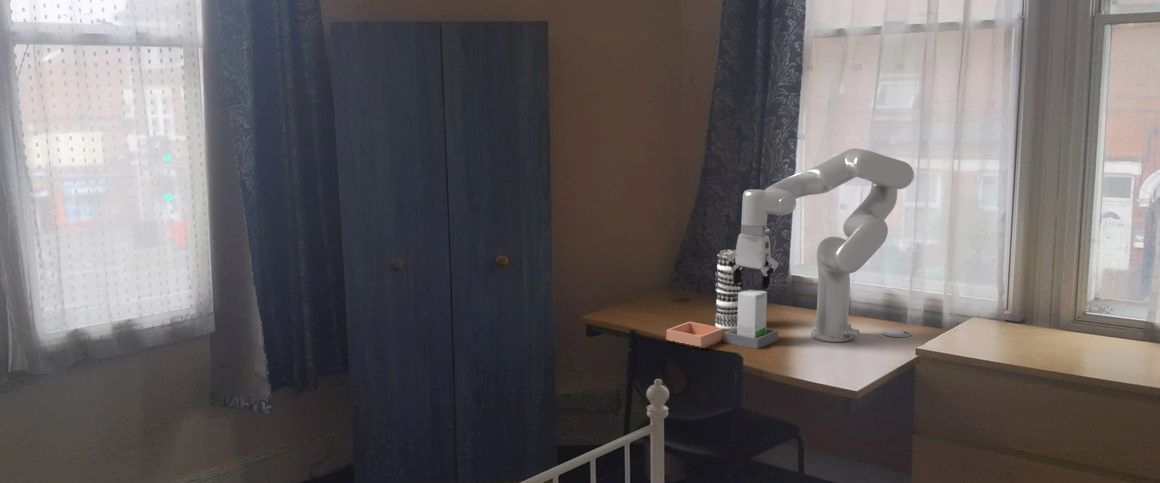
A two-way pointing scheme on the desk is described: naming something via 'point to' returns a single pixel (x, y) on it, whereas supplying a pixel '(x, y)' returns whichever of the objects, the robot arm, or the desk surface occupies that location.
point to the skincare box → (752, 313)
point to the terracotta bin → (695, 334)
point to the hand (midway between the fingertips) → (750, 285)
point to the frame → (751, 339)
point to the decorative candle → (726, 292)
